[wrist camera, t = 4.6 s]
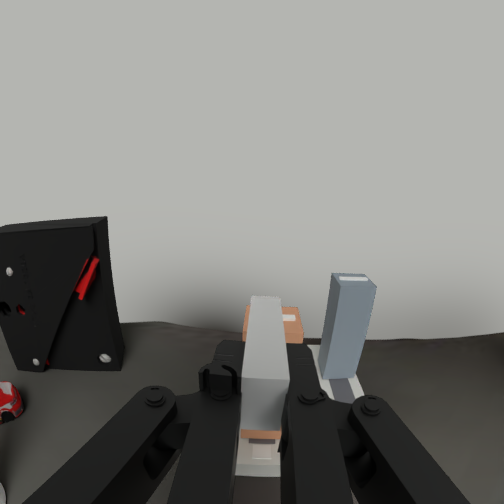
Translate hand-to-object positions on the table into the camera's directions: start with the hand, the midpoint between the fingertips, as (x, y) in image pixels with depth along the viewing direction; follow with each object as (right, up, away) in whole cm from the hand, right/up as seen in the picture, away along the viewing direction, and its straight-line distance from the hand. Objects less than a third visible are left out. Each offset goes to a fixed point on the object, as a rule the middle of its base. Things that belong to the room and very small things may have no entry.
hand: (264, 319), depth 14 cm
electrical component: (-28, -12, +17) cm, 35 cm away
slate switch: (+10, -11, +16) cm, 22 cm away
